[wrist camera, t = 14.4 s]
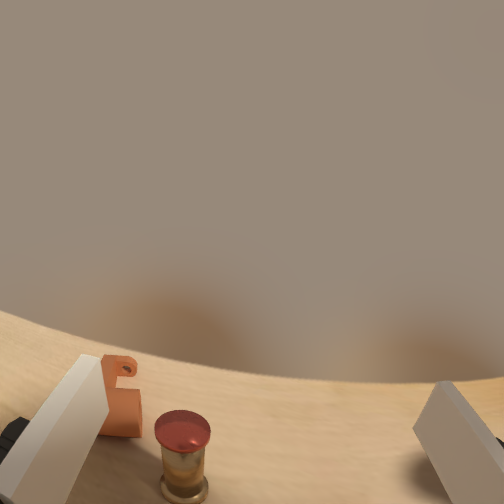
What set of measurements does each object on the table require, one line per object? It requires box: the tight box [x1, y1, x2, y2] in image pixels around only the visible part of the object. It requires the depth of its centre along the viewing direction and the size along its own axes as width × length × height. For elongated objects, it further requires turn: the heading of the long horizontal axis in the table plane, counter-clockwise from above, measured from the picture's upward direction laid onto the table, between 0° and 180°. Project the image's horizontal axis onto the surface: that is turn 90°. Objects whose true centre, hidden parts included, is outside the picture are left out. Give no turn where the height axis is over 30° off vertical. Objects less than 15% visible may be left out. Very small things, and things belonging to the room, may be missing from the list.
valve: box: [154, 410, 211, 504], centre depth 30 cm, size 6×6×14 cm
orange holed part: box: [98, 355, 142, 438], centre depth 46 cm, size 20×8×8 cm, turn 15°
